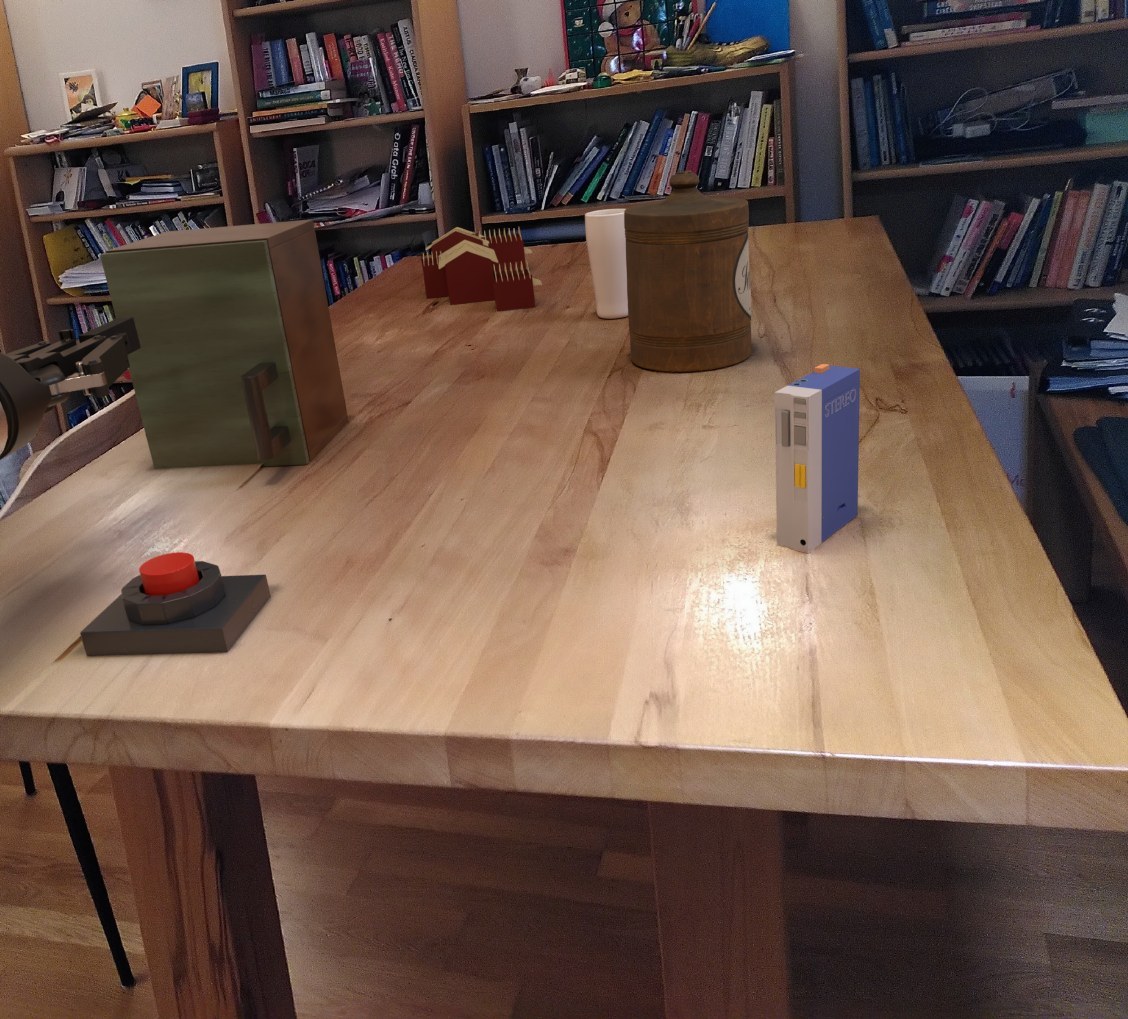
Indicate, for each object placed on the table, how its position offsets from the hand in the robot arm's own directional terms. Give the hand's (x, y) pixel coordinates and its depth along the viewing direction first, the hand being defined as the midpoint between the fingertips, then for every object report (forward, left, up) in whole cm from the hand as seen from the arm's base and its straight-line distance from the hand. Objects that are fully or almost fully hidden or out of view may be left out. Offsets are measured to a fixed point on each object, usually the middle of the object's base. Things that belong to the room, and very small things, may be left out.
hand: (128, 333), depth 91 cm
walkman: (+57, -12, -16) cm, 61 cm away
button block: (+12, -24, -16) cm, 31 cm away
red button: (+12, -24, -13) cm, 30 cm away
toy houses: (+12, +99, -16) cm, 101 cm away
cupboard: (+2, +16, -16) cm, 23 cm away
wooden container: (+48, +42, -16) cm, 66 cm away
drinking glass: (+37, +69, -16) cm, 80 cm away
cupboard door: (+2, +6, -16) cm, 17 cm away
